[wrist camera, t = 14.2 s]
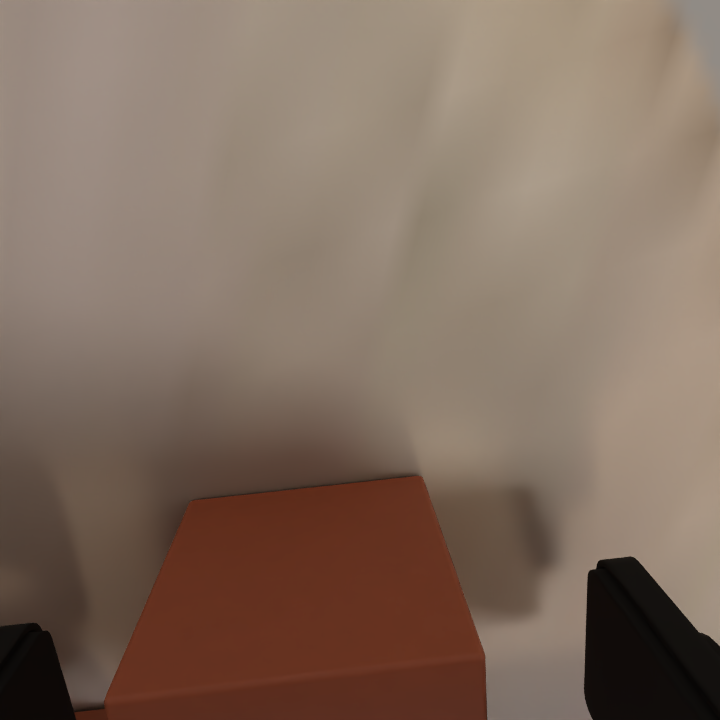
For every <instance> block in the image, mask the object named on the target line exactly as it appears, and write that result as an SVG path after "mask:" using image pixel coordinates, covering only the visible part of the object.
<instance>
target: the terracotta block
mask: <svg viewBox="0 0 720 720" xmlns="http://www.w3.org/2000/svg"><path fill="white" fill-rule="evenodd" d="M104 706H105V710H106V714H107V717H108V720H487V701H486V667H485V654H484V651H483V648H482V645H481V642H480V639H479V636H478V634H477V631H476V628H475V625H474V622H473V619H472V617H471V614H470V611H469V608H468V605H467V602H466V599H465V597H464V594H463V591H462V588H461V585H460V582H459V580H458V577H457V574H456V571H455V568H454V565H453V562H452V560H451V557H450V554H449V551H448V548H447V545H446V543H445V540H444V537H443V534H442V531H441V528H440V525H439V523H438V520H437V517H436V514H435V511H434V508H433V506H432V503H431V500H430V497H429V494H428V491H427V488H426V486H425V483H424V480H423V478H422V477H421V476H411V477H402V478H393V479H384V480H375V481H366V482H357V483H347V484H338V485H329V486H320V487H311V488H302V489H293V490H283V491H274V492H265V493H256V494H247V495H238V496H229V497H220V498H210V499H201V500H193V501H191V502H189V505H188V507H187V509H186V512H185V514H184V516H183V519H182V521H181V523H180V525H179V528H178V530H177V532H176V535H175V537H174V539H173V542H172V544H171V546H170V549H169V551H168V553H167V556H166V558H165V560H164V562H163V565H162V567H161V569H160V572H159V574H158V576H157V579H156V581H155V583H154V586H153V588H152V590H151V593H150V595H149V597H148V599H147V602H146V604H145V606H144V609H143V611H142V613H141V616H140V618H139V620H138V623H137V625H136V627H135V630H134V632H133V634H132V636H131V639H130V641H129V643H128V646H127V648H126V650H125V653H124V655H123V657H122V660H121V662H120V664H119V667H118V669H117V671H116V673H115V676H114V678H113V680H112V683H111V685H110V687H109V690H108V692H107V694H106V697H105V700H104Z"/></svg>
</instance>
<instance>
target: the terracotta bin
mask: <svg viewBox="0 0 720 720" xmlns="http://www.w3.org/2000/svg"><path fill="white" fill-rule="evenodd" d="M74 714H75V717H76V720H108V717H107V714H106V710H105V709H98V710H90V711H82V712H74Z"/></svg>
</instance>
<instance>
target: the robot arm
mask: <svg viewBox="0 0 720 720" xmlns="http://www.w3.org/2000/svg"><path fill="white" fill-rule="evenodd" d="M584 694H585V700H586V704H587V707H588V710H589V713H590V715H591V717H592V719H593V720H720V646H719V645H718V644H717V643H716V642H715V641H714V640H713V639H711V638H710V637H709V636H707V635H705V634H703V633H699V632H698V631H697V630H696V628H695V627H694V626H693V625H692V624H691V623H690V621H689V620H688V619H687V618H686V617H685V615H684V614H683V613H682V612H681V611H680V610H679V608H678V607H677V606H676V605H675V604H674V603H673V601H672V600H671V599H670V598H669V597H668V595H667V594H666V593H665V592H664V591H663V590H662V588H661V587H660V586H659V585H658V584H657V583H656V581H655V580H654V579H653V578H652V577H651V576H650V574H649V573H648V572H647V571H646V570H645V568H644V567H643V566H642V565H641V564H640V563H639V561H637V560H636V559H635V558H633V557H623V558H614V559H605V560H600V561H598V563H597V567H596V569H595V570H590V571H589V573H588V582H587V614H586V646H585V678H584ZM0 720H76V717H75V714H74V710H73V707H72V704H71V700H70V697H69V694H68V690H67V687H66V683H65V680H64V677H63V673H62V670H61V666H60V663H59V660H58V656H57V653H56V650H55V646H54V643H53V639H52V636H51V634H50V633H49V632H48V631H42V629H41V627H40V626H39V625H38V624H37V623H26V624H17V625H8V626H1V627H0Z"/></svg>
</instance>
